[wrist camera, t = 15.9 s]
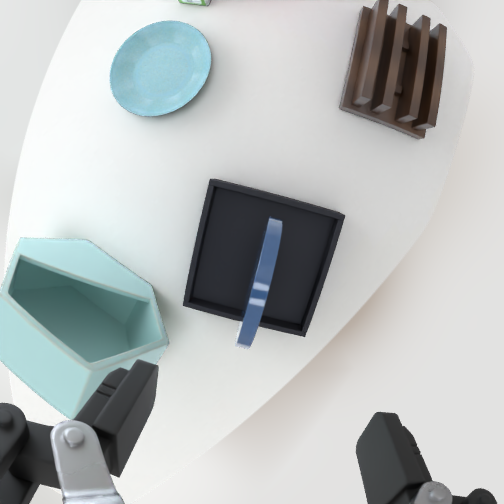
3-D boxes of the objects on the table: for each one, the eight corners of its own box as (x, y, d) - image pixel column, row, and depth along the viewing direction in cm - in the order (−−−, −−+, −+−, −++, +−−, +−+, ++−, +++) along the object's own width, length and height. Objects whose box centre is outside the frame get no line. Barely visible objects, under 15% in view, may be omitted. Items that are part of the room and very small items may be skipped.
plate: (270, 203, 32) (265, 240, 21) (282, 206, 32) (283, 245, 21) (243, 304, 36) (228, 373, 25) (253, 306, 36) (242, 376, 25)
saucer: (224, 102, 31) (221, 97, 29) (125, 132, 32) (116, 130, 30) (204, 16, 29) (200, 8, 27) (112, 49, 30) (104, 43, 28)
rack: (360, 11, 27) (372, -11, 22) (433, 42, 27) (453, 27, 22) (338, 109, 31) (351, 97, 25) (418, 139, 31) (441, 135, 25)
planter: (145, 261, 41) (186, 386, 25) (123, 304, 42) (153, 430, 27) (29, 215, 31) (-15, 339, 15) (14, 267, 32) (-16, 399, 16)
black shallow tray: (339, 212, 33) (345, 215, 31) (302, 326, 37) (304, 337, 34) (214, 178, 33) (209, 178, 31) (188, 297, 37) (182, 305, 34)
